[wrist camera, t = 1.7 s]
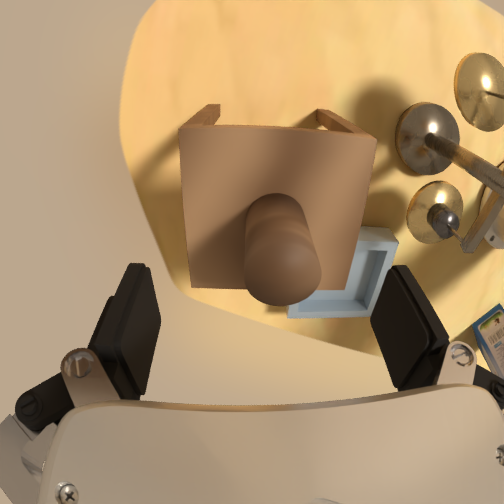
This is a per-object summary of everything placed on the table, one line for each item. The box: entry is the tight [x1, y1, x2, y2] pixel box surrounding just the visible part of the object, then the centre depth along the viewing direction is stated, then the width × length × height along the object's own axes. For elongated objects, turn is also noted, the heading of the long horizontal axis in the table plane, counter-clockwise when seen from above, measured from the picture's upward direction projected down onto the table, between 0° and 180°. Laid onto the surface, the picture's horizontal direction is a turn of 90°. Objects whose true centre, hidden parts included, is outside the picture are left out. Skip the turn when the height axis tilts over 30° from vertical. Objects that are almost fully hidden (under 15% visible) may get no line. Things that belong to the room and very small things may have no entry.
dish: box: [286, 226, 399, 318], centre depth 31 cm, size 10×10×3 cm
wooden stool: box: [179, 104, 377, 306], centre depth 19 cm, size 10×10×16 cm
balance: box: [395, 52, 504, 253], centre depth 18 cm, size 7×18×14 cm, turn 178°
